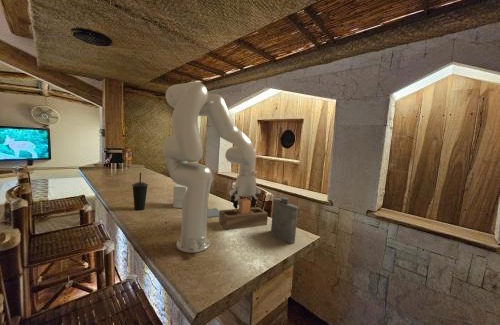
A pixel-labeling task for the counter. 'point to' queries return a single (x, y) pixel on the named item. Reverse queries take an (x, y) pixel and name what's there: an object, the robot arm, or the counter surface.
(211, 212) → the mat
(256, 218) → the wooden compartment box
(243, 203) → the peg
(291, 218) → the flask
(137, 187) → the drinking cup
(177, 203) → the supplement box
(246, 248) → the counter surface
